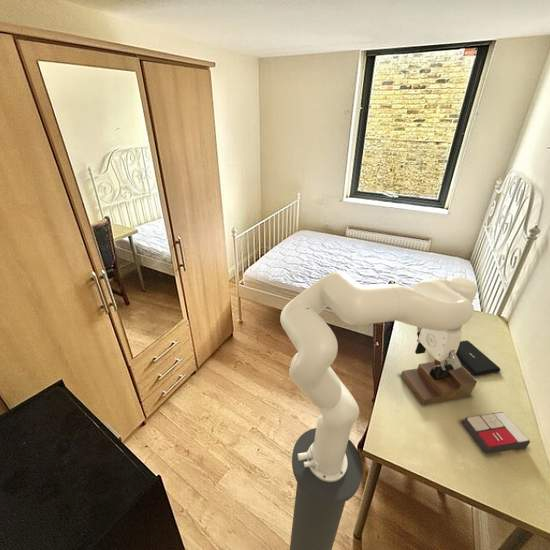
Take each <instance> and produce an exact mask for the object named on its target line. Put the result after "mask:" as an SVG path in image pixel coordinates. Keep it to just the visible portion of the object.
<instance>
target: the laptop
mask: <svg viewBox="0 0 550 550" xmlns="http://www.w3.org/2000/svg"><path fill="white" fill-rule="evenodd" d="M456 355H457V357H458V359H459V361H460V363H461V365H462V367H463V368H464V369H465V370H466V371H467V372H469V373H470V374H471V375H472V376H474V377H479V376H485V375H490V374H494V373H499V372H501V367H499V366H498V365H497V364H496V363H495V362H493V361H492V359H490V358H489V357H488V356H487V355H485V353H484V352H482V351H481V350H480V349H478V348H477V347H476V346H475V345H474V344H473V343H472V342H471V341H469V340H462V341H461V340H460V343H459V347H458V350H457V352H456Z"/></svg>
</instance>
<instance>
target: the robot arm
mask: <svg viewBox="0 0 550 550" xmlns="http://www.w3.org/2000/svg"><path fill="white" fill-rule="evenodd" d="M477 292H478V285H477V284H476V283H475V282H474V281H473V280H471V279H469V278H466V277H463V276H450V277H449V278H447V279H443V278H427V279H423V280H419V281H418V282H417V283H416V284H415V285H414V286H413V287H412V288H409V287H407V286H405V285H402V284H399V283H398V284H397V283H383V284H361V283H359V282H358V281H356V280H355V279H354V278H353V277H352V276H350V275H349V274H348V273H346V272H344V271H339V270H338V271H333V272H330V273H328V274H326V275H324V276H322V277H321V278H319V279H317V280H316V281H315V282H313V283H312V284H311V285H309V286H308V287H307V288H305V289H304V290H303V291H302V292H300V293H299V294H298V295H296V296H295V297H294V298H292V299H291V300H290V301H289V302H288V303H286V305H285V306H284V307H283V308H282V310H281V312H280V316H279V321H280V324H281V327H282V329H283V331H284V332H285V334H286V335H287V337H288V338H289V340H290V342H291V343H292V344H293V346H294V348H295V349H296V351H297V352H296V353H295V355H293V357H292V359H291V362H290V366H289V370H288V375H289V378H290V379H291V380H292V382H293V383H294V385H296V386H297V387H298V389H299V390H300V391H301V392H302V393H303V394H304V396H305V397H306V398H307V399H308V400H309V402H310V403H312V404H313V405H314V406H316V407H317V409H318V410H319V412H320V415H319V417H318V418H317V421H316V425H315V428H316V433H315V440H314V443H313V444H312V445H311V446H310V448H309V450H308V451H307V452H305V453H299V454H298V460H299V461H301V460H304V459H307V462H304V467H309V468H310V470H311V471H312V473H313V474H314V475H315V476H316V477H317V478H319V479H320V480H323V481H326V482H335V481H338V480H340V479H341V478H342V477H343V476H344V475H345V473H346V470H347V465H348V462H347V457H346V454H345V452H346V448H347V444H348V439H349V440H350V435H351V432H352V429H353V426H354V425H355V423H356V422H357V420H358V418H359V416H360V408H359V405H358V403H357V401H356V399H355V397H354V396H353V394H352V393H351V392H350V391H349V389H348V388H347V386H346V385H345V384H344V383H343V382H342V380H341V379H340V378H339V376H338V375H337V374H336V372H335V371H334V370H333V368H332V367H331V365H332V364H333V363H334V361H335V360H336V358H337V356H338V349H339V347H338V346H339V344H338V340H337V337H336V335H335V333H334V331H333V330H332V328H331V327H330V325H328V324H327V323H326V321H324V319H323V318H322V317H321V315H320V313H322V312H323V311H324V310H326V308H330V309H331V311H332V312H333V313H334V314H335V315H336V316H337V317H338V318H339V319H340V320H341V321H343V322H344V323H345V324H348V325H351V326H363V325H364V326H365V325H370V324H379V323H386V322H387V323H389V322H400V323H402V324H406V325H409V326H413V327H416V329H417V332H416V336H417V340H416V342H417V346H416V348H415V351H414V353H415V354H416V355H419V354H420V355H421V354H426V352H428V354H430V356H432V357H433V359H434V360H435V359H436V360H438V361H440V362H441V367H439V369H438V371H437V374H436V377H437V378H444V377H446V376H447V375H448V372H449V370H455V369H458V368H460V367H461V366H462V367H463V365H462V364H461V363H460V361H459V359H458V357H457V355H456V352H457V350H458V347H459V343H460V342H461V338H462V330H461V329H463V326H464V325H465V324H467V323H468V322H469V321H470V320H471V319H472V318H473V315H474V313H475V308H474V305H473V302H474V299H475V298H476V296H477ZM445 360H447V362H448V365H446V364H445ZM452 362H453V364H452ZM323 477H324V478H323Z"/></svg>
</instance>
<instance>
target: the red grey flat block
mask: <svg viewBox="0 0 550 550" xmlns="http://www.w3.org/2000/svg"><path fill="white" fill-rule="evenodd" d="M462 425H463V426H464V427H465V429H466V430H467V432H469V434H470V436H471V437H472V438H473V440H474V441H475V442H476V444H477V445H478V446H479V448H480V449H481V450H482V452H483V454H485V455H489V454H494V453H495V454H496V453H501V452H506V451H512V450H513V451H515V450H516V451H518V450H524V449H527V448H528V446H529V445H530V443H531V440H529V438H528V437H527V436H526V435H525V434H524V433H523V431H522V430H521V429H520V428H519V427H518V425H516V424H515V423H514V422H513V421H512V420H511V418H510V417H509V416H508V415H507V414H506V413H505V412H504V411H500V412H498V411H497V412H492V413H487V414H486V413H485V414H481V415H474V416H473V415H472V416H466V417H464V419H463V421H462Z"/></svg>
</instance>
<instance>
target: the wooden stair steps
mask: <svg viewBox="0 0 550 550" xmlns="http://www.w3.org/2000/svg"><path fill="white" fill-rule="evenodd" d="M445 364H446V365H448V362H447V360H445ZM452 364H453V362H452ZM438 365H441V362H440V361H438V360H436V359H435V358H434V360H433V361H429V362H424V363H423V362H422V363H419V364H418V366H417V368H411V369H405V370H402V371H401V374H400V378H402V380H403V381H404V382H405V384H406V386H407V387H408V389H409V390H410V391H411V392H412V394H413V395H414V396H415V398H416V399H417V401H418V402H419V403H420V405H421V406H424V405H429V404H430V405H431V404H436V403H441V402H446V401H451V400H456V399H461V398H467V397H470V396H471V395H472V393H473V391H474V390H475V387H476V385H477V384H478V381H477V380H476V379H475V378H474V377H473V375H472V374H471V373H470V372H469V371H468V370H467V369H466V368H465V367H464V366H463V365H462V366H461V367H460V368H458V369H455V370H449V375H448V377H447V378H444V379H438V380H434V378H433V377H432V376H431V375H430V371H431V369H432V368H435V366H438Z"/></svg>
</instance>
